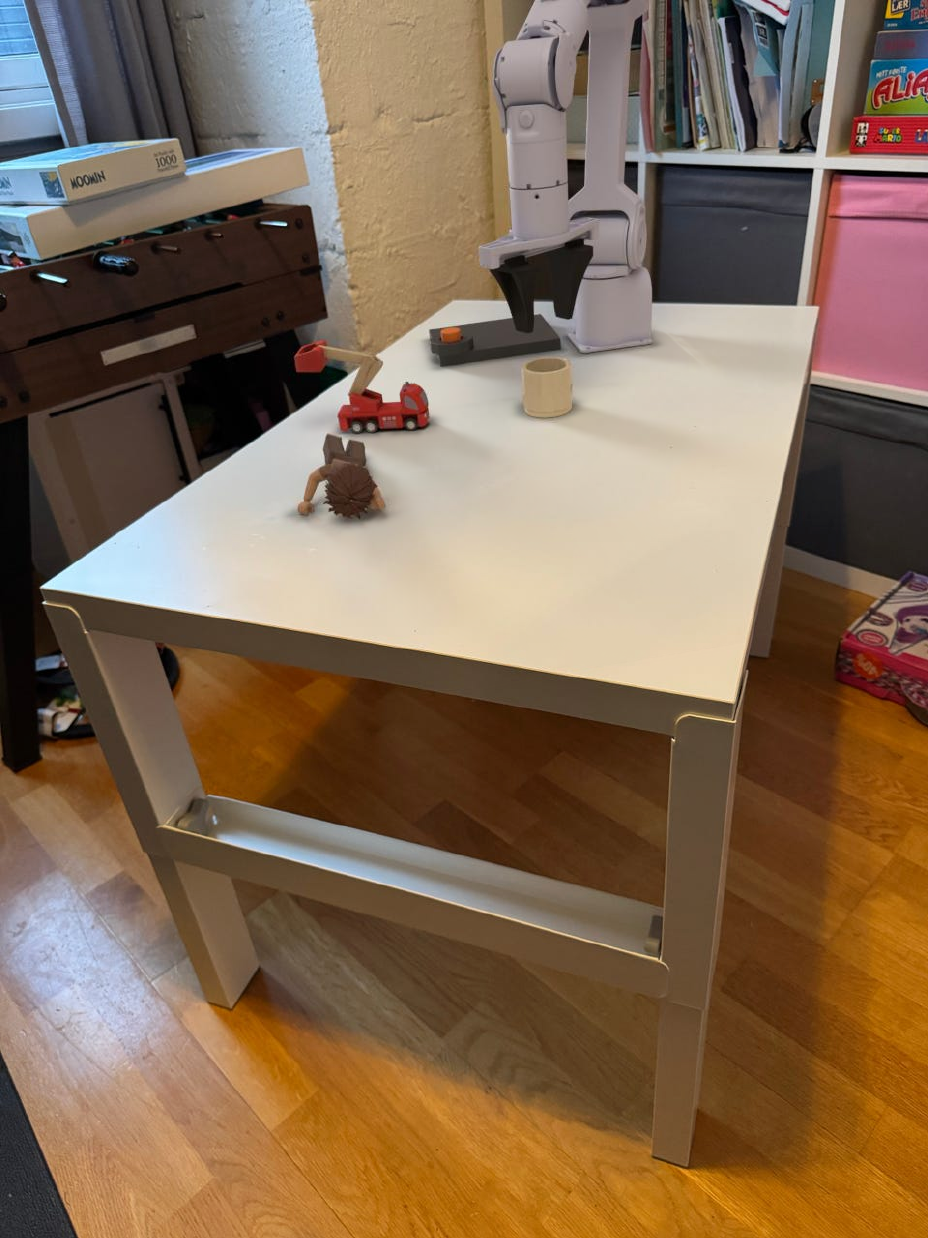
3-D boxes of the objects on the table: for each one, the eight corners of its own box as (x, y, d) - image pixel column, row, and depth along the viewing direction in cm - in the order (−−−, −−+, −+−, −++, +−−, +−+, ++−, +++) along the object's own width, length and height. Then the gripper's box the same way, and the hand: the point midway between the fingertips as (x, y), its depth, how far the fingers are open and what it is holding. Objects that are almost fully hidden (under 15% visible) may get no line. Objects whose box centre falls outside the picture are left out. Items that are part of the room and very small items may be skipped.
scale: (541, 325, 125) (540, 303, 123) (562, 352, 115) (561, 328, 113) (424, 341, 124) (422, 319, 122) (435, 370, 113) (432, 347, 112)
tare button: (459, 336, 116) (458, 325, 115) (462, 342, 113) (461, 331, 113) (440, 339, 115) (439, 328, 115) (442, 344, 113) (441, 334, 113)
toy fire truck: (428, 430, 97) (418, 343, 92) (309, 436, 99) (291, 351, 94) (432, 418, 100) (422, 333, 95) (315, 424, 102) (299, 341, 96)
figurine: (302, 487, 93) (304, 545, 80) (283, 441, 90) (282, 493, 77) (375, 462, 93) (389, 516, 80) (358, 415, 90) (369, 463, 77)
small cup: (565, 396, 102) (564, 353, 99) (577, 413, 97) (576, 369, 94) (519, 403, 101) (517, 360, 98) (529, 420, 97) (527, 376, 94)
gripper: (565, 169, 92) (569, 301, 100) (455, 194, 86) (468, 334, 93) (613, 172, 87) (613, 311, 95) (500, 200, 81) (510, 347, 88)
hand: (544, 324), depth 94 cm, fingers open, 5 cm apart
